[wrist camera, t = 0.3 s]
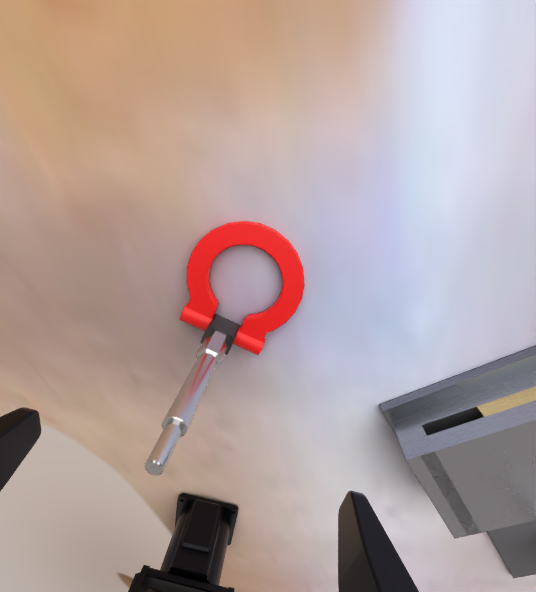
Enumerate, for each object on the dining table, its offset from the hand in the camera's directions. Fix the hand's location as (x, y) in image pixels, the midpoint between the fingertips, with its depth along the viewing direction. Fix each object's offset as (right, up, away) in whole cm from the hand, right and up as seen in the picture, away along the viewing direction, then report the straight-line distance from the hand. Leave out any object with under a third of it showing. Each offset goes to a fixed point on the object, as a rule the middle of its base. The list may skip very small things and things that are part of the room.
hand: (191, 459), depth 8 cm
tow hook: (0, +6, +14) cm, 15 cm away
